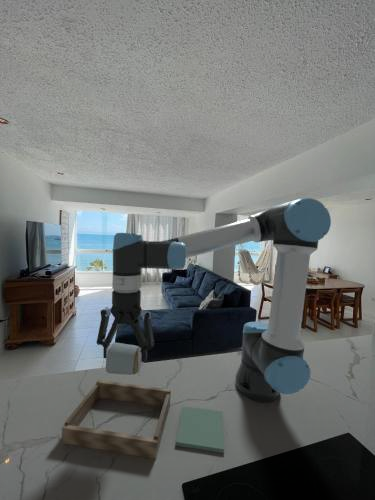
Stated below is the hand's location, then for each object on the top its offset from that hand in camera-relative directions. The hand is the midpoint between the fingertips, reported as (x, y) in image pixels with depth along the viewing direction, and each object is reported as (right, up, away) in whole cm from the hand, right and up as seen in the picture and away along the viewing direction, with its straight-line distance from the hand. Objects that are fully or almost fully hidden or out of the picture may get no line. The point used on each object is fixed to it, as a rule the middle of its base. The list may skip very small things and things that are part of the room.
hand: (124, 370), depth 61 cm
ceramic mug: (0, 0, +1) cm, 1 cm away
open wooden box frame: (-1, -15, +1) cm, 15 cm away
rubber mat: (+21, -16, 0) cm, 26 cm away
